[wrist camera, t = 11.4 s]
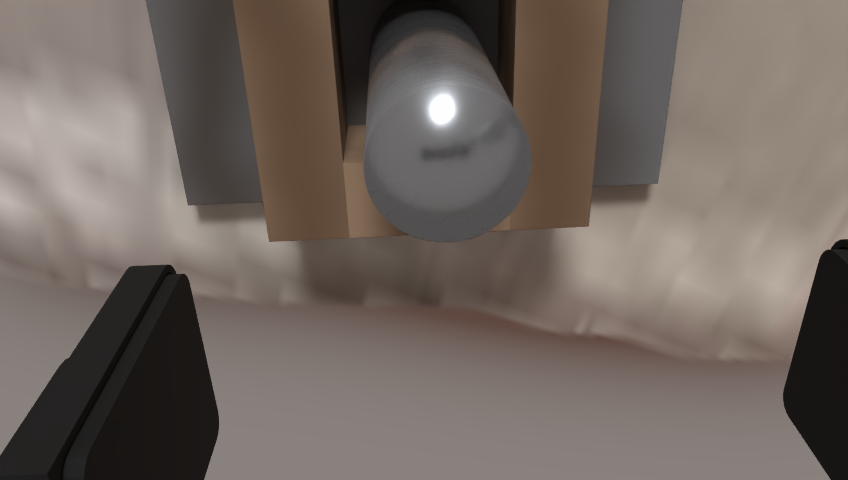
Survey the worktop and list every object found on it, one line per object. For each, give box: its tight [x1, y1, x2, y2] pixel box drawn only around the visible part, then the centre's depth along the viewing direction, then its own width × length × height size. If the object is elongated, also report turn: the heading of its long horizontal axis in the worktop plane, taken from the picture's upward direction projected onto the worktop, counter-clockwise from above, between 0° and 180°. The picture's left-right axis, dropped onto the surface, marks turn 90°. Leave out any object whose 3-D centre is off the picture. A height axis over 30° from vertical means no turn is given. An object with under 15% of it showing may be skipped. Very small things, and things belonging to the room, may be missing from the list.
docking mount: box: [146, 0, 683, 242], centre depth 26 cm, size 20×12×5 cm, turn 92°
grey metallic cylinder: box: [364, 0, 532, 242], centre depth 22 cm, size 4×4×12 cm
